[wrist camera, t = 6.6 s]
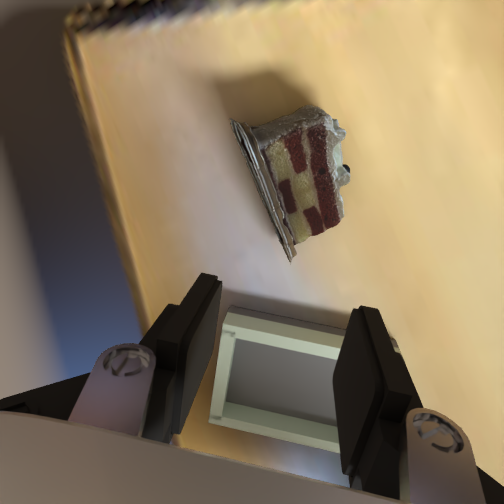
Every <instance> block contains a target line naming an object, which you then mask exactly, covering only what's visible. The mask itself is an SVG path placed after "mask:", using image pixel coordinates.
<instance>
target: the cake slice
mask: <svg viewBox="0 0 504 504" xmlns="http://www.w3.org/2000/svg"><path fill="white" fill-rule="evenodd" d="M230 120H231V123H230V124H231V125H232V130H233V133H234V135H235V137H236V140H237V142H238V144H239V146H240V149H241V151H242V155H243V156H244V157H245V158H246V161H247V165H248V167H249V169H250V172H251V174H252V176H253V178H254V181H255V183H256V186H257V189H258V192H259V193H260V196H261V198H262V199H263V200H262V201H263V203H264V205H265V206H266V209H267V210H268V213H269V216H270V218H271V221H272V223H273V225H274V228H275V231H276V234H277V236H278V239H279V242H280V243H281V244H282V246H283V249H284V251H285V253H286V255H287V258H288V260H289V262H290V263H291V260H292V258H293V257H294V256H295V255H296V254H297V253H296V250H295V248H294V245H296V244H298V243H301V242H303V241H305V240H306V239H307V238H308V237H309V236H315V235H318V234H320V233H323V232H325V231H326V230H327V229H329V228H331V227H334V226H336V225H337V224H338V223H339V222H340V221H341V219H342V218H343V217H344V209H343V199H342V196H341V195H340V192H339V189H340V187H341V186H343V185H346V184H348V183H349V182H350V174H349V173H350V168H349V166H347V165H345V164H344V165H342V162H343V158H342V151H341V141H342V140H343V139H344V138H345V136H346V131H345V130H344V129H342V128H340V127H339V123H338V120H337V119H332V118H331V116H330V115H329V114H327V113H326V112H325V111H323V110H322V109H320V108H319V107H316V106H315V107H313V106H312V105H306V106H304V107H302V108H299V109H298V110H297V111H295V112H294V113H293V114H291V115H288V116H282V117H280V118H278V119H276V120H274V121H272V122H269V123H266V124H263V125H260V126H254V127H253V126H251V127H249V126H248V124H247V123H246V122H244V123H239V122H236V121H234V120H233V119H230Z"/></svg>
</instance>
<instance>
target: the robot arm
mask: <svg viewBox="0 0 504 504" xmlns="http://www.w3.org/2000/svg"><path fill="white" fill-rule="evenodd" d="M217 278H218V277H217V276H215V275H210V274H205V273H201V274H200V275H199V277H198V278H197V280H196V281H195V283H194V284H193V286H192V287H191V289H190V290H189V292H188V293H187V295H186V296H185V298H184V299H183V301H182V302H181V304H180V305H174V304H168V305H167V306H166V308H165V309H164V310H163V312H162V313H161V314H160V316H159V317H158V318H157V320H156V321H155V322H154V324H153V325H152V327H151V328H150V329H149V331H148V332H147V333H146V335H145V336H144V337H143V339H142V340H141V341H140V343H139V344H134V343H127V344H120V345H115V346H113V347H111V348H108V349H107V350H105V351H104V352H103V353H101V355H100V356H99V357H98V359H97V361H96V363H95V365H94V367H93V369H92V371H91V373H87V374H83V375H80V376H77V377H73V378H70V379H66V380H63V381H60V382H56V383H53V384H50V385H46V386H43V387H40V388H36V389H33V390H30V391H26V392H23V393H19V394H16V395H13V396H10V397H6V398H3V399H1V400H0V504H504V487H503V486H502V485H501V484H499V483H498V482H497V481H496V480H494V479H493V478H492V477H490V476H489V475H488V474H487V473H485V472H484V471H483V470H481V469H480V468H479V467H478V466H476V463H475V459H474V455H473V451H472V447H471V444H470V441H469V439H468V437H467V435H466V434H465V433H464V432H463V430H462V429H461V428H460V427H459V426H458V425H457V424H456V423H455V422H453V421H452V420H451V419H449V418H448V417H446V416H445V415H443V414H441V413H438V412H436V411H434V410H430V409H427V408H423V405H422V403H421V400H420V398H419V396H418V393H417V391H416V388H415V386H414V384H413V381H412V379H411V376H410V374H409V372H408V369H407V367H406V364H405V362H404V360H403V357H402V355H401V354H400V353H398V352H395V350H394V347H393V345H392V342H391V340H390V337H389V335H388V332H387V330H386V327H385V324H384V322H383V319H382V317H381V314H380V312H379V310H378V309H376V308H371V307H366V306H360V307H359V309H355V308H354V309H353V310H352V313H351V316H350V320H349V323H348V326H347V329H346V333H345V336H344V339H343V343H342V346H341V349H340V352H339V356H338V359H337V362H336V366H335V369H334V372H333V379H332V383H333V393H334V402H335V411H336V420H337V429H338V438H339V447H340V457H341V466H342V472H343V474H345V475H349V483H350V488H348V487H344V486H340V485H336V484H332V483H328V482H324V481H320V480H315V479H311V478H307V477H303V476H299V475H295V474H291V473H287V472H283V471H279V470H275V469H270V468H266V467H262V466H258V465H254V464H250V463H246V462H242V461H237V460H233V459H229V458H225V457H221V456H217V455H213V454H208V453H204V452H200V451H196V450H192V449H187V448H183V447H179V446H175V445H170V444H169V443H170V441H171V438H172V436H173V434H174V433H175V434H180V433H181V431H182V428H183V426H184V423H185V421H186V418H187V416H188V413H189V411H190V408H191V406H192V403H193V401H194V398H195V395H196V393H197V390H198V388H199V385H200V383H201V380H202V378H203V375H204V373H205V370H206V368H207V365H208V363H209V360H210V357H211V355H212V351H213V347H214V340H215V333H216V326H217V319H218V312H219V305H220V298H221V290H222V281H219V280H217Z"/></svg>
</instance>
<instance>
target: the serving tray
mask: <svg viewBox="0 0 504 504" xmlns="http://www.w3.org/2000/svg"><path fill="white" fill-rule="evenodd" d="M345 333H346V330H344V329H339V328H334V327H330V326H325V325H320V324H315V323H311V322H306V321H301V320H296V319H291V318H287V317H282V316H277V315H272V314H268V313H263V312H258V311H253V310H248V309H244V308H239V307H234V306H230V307H229V309H228V312H227V315H226V317H225V320H224V322H223V327H222V334H221V340H220V347H219V354H218V361H217V368H216V374H215V381H214V388H213V395H212V402H211V408H210V415H209V422H208V423H212V424H216V425H221V426H225V427H229V428H233V429H238V430H242V431H246V432H250V433H255V434H259V435H263V436H268V437H272V438H276V439H280V440H285V441H289V442H293V443H297V444H302V445H306V446H310V447H315V448H319V449H323V450H327V451H332V452H336V453H340V447H339V438H338V429H337V420H336V411H335V402H334V393H333V383H332V379H333V372H334V369H335V366H336V362H337V359H338V356H339V352H340V349H341V346H342V343H343V339H344V336H345ZM390 340H391V342H392V345H393V347H394V350H395V352H398V353H400V354H401V352H400V349H399V347H398V345H397V342H396V340H392V339H390ZM401 355H402V354H401ZM403 360H404V359H403ZM404 362H405V361H404Z"/></svg>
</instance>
